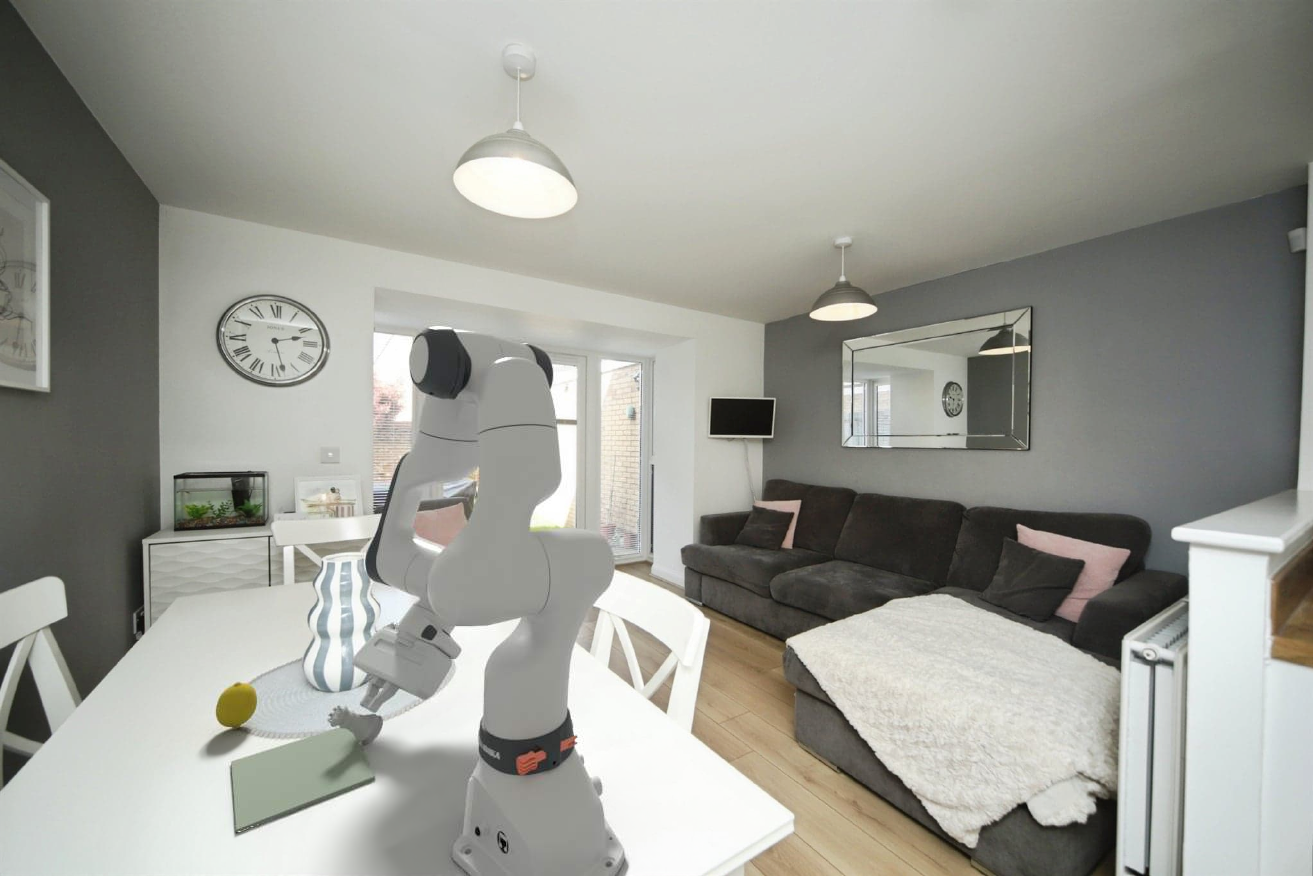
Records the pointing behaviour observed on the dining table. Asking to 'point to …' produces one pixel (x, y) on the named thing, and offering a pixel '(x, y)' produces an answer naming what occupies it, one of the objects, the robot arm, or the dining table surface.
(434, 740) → the dining table surface
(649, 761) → the dining table surface
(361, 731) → the rook chess piece
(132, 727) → the dining table surface
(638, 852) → the dining table surface
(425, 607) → the robot arm
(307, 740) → the grayish green thin book
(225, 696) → the lemon
